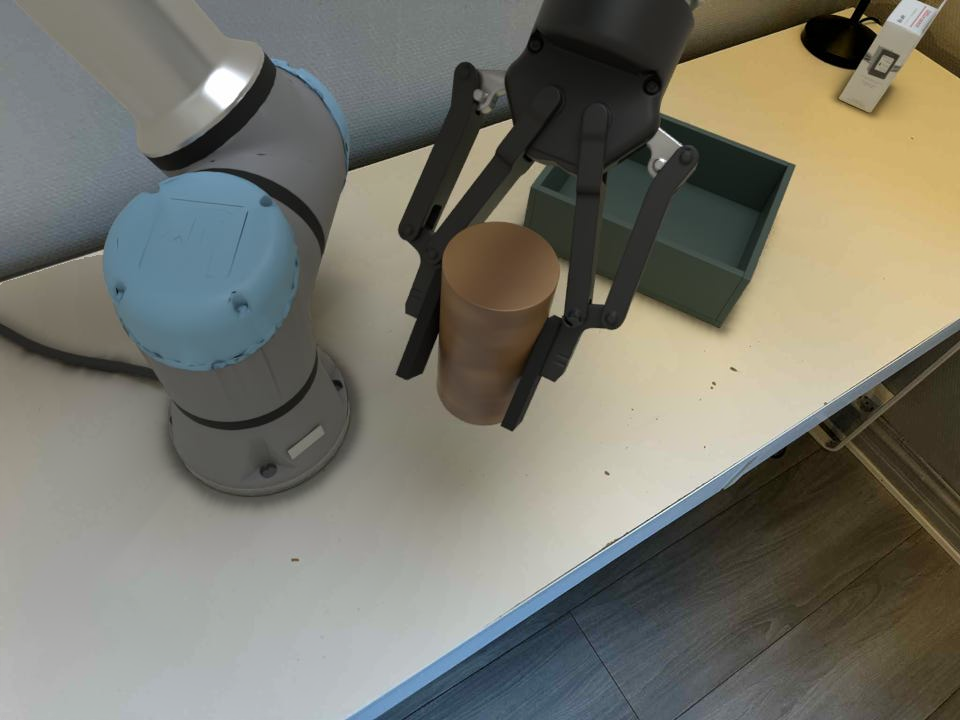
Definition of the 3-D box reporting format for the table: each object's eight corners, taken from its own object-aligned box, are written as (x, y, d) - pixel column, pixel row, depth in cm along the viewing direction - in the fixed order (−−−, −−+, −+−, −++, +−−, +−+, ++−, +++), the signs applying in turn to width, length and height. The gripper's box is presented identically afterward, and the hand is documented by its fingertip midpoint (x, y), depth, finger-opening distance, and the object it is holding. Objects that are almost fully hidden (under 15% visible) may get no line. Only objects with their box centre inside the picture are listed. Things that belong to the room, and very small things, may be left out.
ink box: (856, 73, 99) (919, -30, 86) (888, 87, 97) (957, -15, 85) (836, 99, 94) (900, -5, 82) (869, 114, 93) (939, 11, 81)
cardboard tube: (419, 400, 42) (420, 280, 32) (462, 334, 46) (475, 205, 36) (503, 441, 41) (530, 330, 31) (541, 370, 44) (578, 248, 34)
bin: (520, 239, 74) (530, 186, 68) (587, 143, 85) (601, 89, 78) (719, 328, 70) (751, 280, 63) (765, 215, 80) (796, 164, 73)
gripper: (799, 73, 35) (615, 453, 40) (479, -36, 38) (349, 326, 44) (835, 22, 28) (606, 493, 33) (437, -106, 31) (287, 337, 37)
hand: (460, 397), depth 38 cm, fingers closed on cardboard tube, 6 cm apart
